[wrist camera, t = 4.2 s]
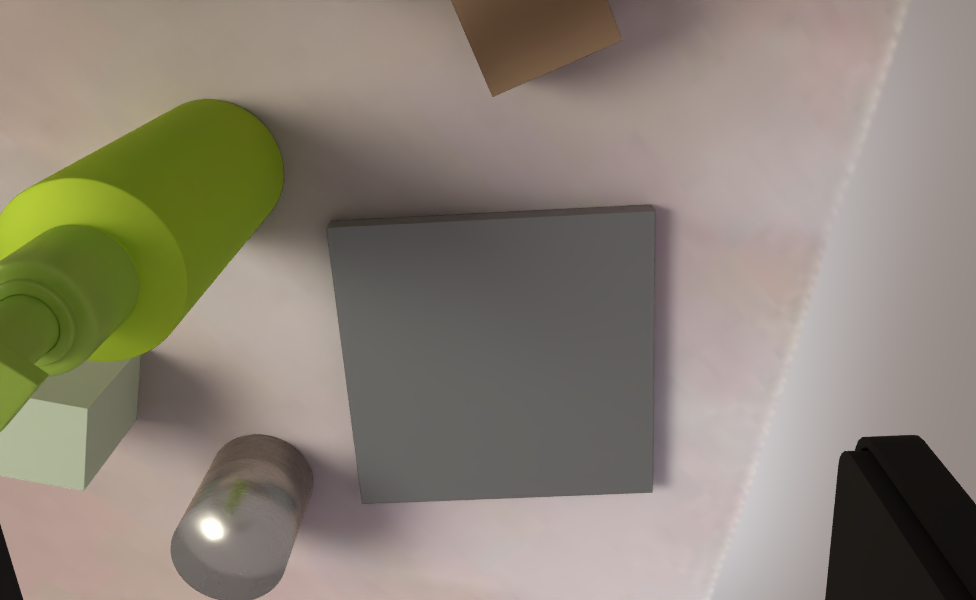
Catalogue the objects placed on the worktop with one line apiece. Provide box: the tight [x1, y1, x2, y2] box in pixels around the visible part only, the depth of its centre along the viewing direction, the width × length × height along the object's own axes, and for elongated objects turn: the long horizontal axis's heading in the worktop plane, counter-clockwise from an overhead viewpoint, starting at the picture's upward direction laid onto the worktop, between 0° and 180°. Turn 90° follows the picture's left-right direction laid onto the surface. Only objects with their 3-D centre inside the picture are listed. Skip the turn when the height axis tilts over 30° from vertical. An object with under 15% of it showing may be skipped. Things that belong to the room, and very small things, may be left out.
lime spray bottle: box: [0, 99, 284, 432], centre depth 30 cm, size 6×7×20 cm
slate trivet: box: [326, 205, 655, 504], centre depth 42 cm, size 14×14×1 cm
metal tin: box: [171, 434, 313, 600], centre depth 43 cm, size 5×5×6 cm
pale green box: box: [0, 355, 141, 491], centre depth 41 cm, size 4×4×6 cm
